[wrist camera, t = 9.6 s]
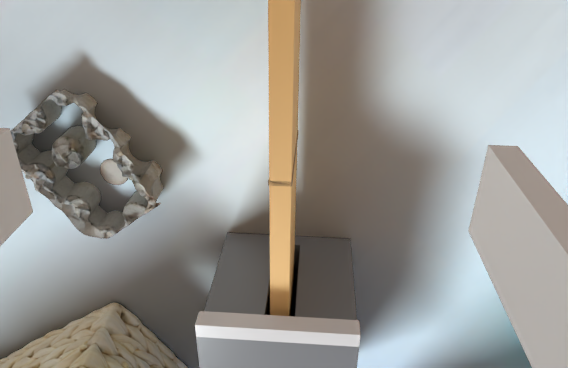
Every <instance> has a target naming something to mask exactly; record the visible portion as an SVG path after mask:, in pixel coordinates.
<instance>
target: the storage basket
mask: <svg viewBox="0 0 568 368" xmlns="http://www.w3.org/2000/svg"><path fill="white" fill-rule="evenodd" d="M0 368H187V366H186V365H185V364H184V363H183V362H181V361H180V360H179V359H178V358H177V357H176V356H175V355H174V353H173V352H172V351H171V350H170V349H169V348H168V347H167V346H166V345H164V344H163V343H162V342H161V341H160V340H158V338H157V337H156V336H155V335H154V333H152V332H151V331H150V330H149V329H148V328H147V327H145V326H144V325H143V324H142V323H141V321H140V320H139V319H138V318H137V317H136V316H135V315H134V314H133V313H132V312H130V311H129V310H127V309H126V308H124V307H123V306H122V305H120V304H119V303H110V304H108V305H106V306H104V307H102V308H100V309H98V310H95V311H93V312H91V313H90V314H88V315H86V316H85V317H83V318H81V319H77V320H74V321H72V322H70V323H69V324H68V325H66V326H65V327H64V328H62V329H58V330H53V331H51V332H49V333H47V334H46V335H45V336H43V337H42V338H39V339H36V340H34V341H32V342H30V343H29V344H27V345H26V346H25V347H23V348H22V349H20V350H17V351H15V352H13V353H12V354H10V355H9V356H8V357H7V358H3V359H0Z"/></svg>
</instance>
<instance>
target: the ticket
mask: <svg viewBox="0 0 568 368" xmlns="http://www.w3.org/2000/svg"><path fill="white" fill-rule="evenodd" d="M300 10H301V0H268V31H269V180H268V185H269V201H270V315H277V316H291V305H292V293H293V281H294V251H295V211H296V171H297V140H298V91H299V51H300Z"/></svg>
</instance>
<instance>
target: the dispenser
mask: <svg viewBox="0 0 568 368" xmlns="http://www.w3.org/2000/svg"><path fill="white" fill-rule="evenodd" d="M195 331H196V340H197V350H198V359H199V368H357V360H358V352H359V344H360V323H359V320H357V315H356V302H355V290H354V277H353V265H352V253H351V240H350V239H345V238H324V237H304V236H295V251H294V281H293V293H292V305H291V316H277V315H270V235H264V234H243V233H227V236H226V239H225V242H224V246H223V249H222V252H221V256H220V259H219V262H218V266H217V269H216V272H215V276H214V279H213V282H212V286H211V289H210V292H209V296H208V299H207V302H206V306H205V309H204V311H199V313H198V316H197V320H196V323H195Z"/></svg>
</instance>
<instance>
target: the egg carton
mask: <svg viewBox="0 0 568 368" xmlns="http://www.w3.org/2000/svg"><path fill="white" fill-rule="evenodd" d="M71 103H75V104H76V105H77V106H79V107H80V108H81V109H82V111H83V113H82V126H83V127H82V126H74V127H71V128H69V129H68V130H67V131H66V132H65V133H64V134H63V135H61V136H60V137H59V138H58V139H57V140H56V141H55V142H54V143H53V144H52V151H51V150H49V151H44V152H40V151H39V150H38V149H36V148H35V147H34V146H33V145H32V141H33V138H34V133H42V132H43V131H44V129H46V128H47V127H48V126H49V125H51V124H52V123H53V122H54V121H56V120H57V119H58V118H59V117H60V115H61V105H62V106H67V105H69V104H71ZM96 105H97V102H96V101H95V100H94V98H93V97H92V96H90V95H89V94H88V93H84V94H81V95H76V94H72V93H70V92H68V91H67V90H65V89H63V90H62V91H61V92H60V91H59V90H56V91H55V92H54V93H53V94H52V95H49V96H48V97H47V98H46V99H45V100H44V101H43V102H42V103H41V104H40V105H39V106H38V107H37V108H36V109H35V110H34V111H32V112H31V113H30V114H29V115H28V116H27V117H26V118H25V119H24V120H22V121H21V122H20V123H19V124H18V125H17V126H16V127H15V128H14V129H13V130H12V131H10V132H11V135H12V139H13V143H14V146H15V150H16V153H17V157H18V160H19V164H20V167H21V170H22V171H23V172H24V173H25V175H26V178H27V179H31V180H32V181H33V182H34V186H35V190H36V191H38V192H40V193H41V194H43V195H44V196H46V197H47V198H48V199H49V200H50V201H51V202H52V203H53V204H54V205H55V206H56V207H57V208H59V209H60V210H62V211H63V212H64V213H65V215H66V216H67V217H68V218H69V219H70V221H71V222H72V223H73V224H74V226H75V227H76V228H77V229H78V230H79V231H80V232H82V233H83V234H85V235H88V236H92V237H98V238H110V237H112V236H113V235H115V234H116V233H118V232H119V231H120V230H122V229H123V228H125V227H126V226H128V225H130V224H131V223H132V222H134V221H135V220H136V219H138V218H139V217H141V216H142V215H144V214H146V213H148V212H149V211H151V210H152V209H154V208H155V207H157V206H158V205H160V204H161V203H156V200H157V198H158V197H159V195H160V193H161V192H162V190H163V189H164V187H163V185H162V183H161V181H160V174H161V172H162V168H161V167H160V166H159V165H158V164H157V163H156V162H155V161H154V160H153V161H149V162H143V161H140V160H138V159H136V158H135V157H133V155H132V154H131V153H130V150H129V141H130V139H131V136H130V135H128V134H127V133H126V132H124V131H123V130H122V129H121V128H118V129H108V128H106V127H104V126H102V125H101V124H100V123H99V122H98V120H97V119H96V117H95V107H96ZM97 139H99V140H109V139H111V140H112V142H113V143H114V147H115V148H114V152H113V159H107V160H105V161H103V163H102V164H101V167H100V173H101V175H102V176H103V178H104V180H105V181H107V182H108V183H110V184H113V185H121V184H123V183H125V182H126V181H127V180H128V178H129V179H130V180H132V182H133V184H134V186H135V189H136V190H137V191H136V192H135V193H134V194H133V195H132V197H131V198H130V200H129V201H128V202H127V204H126V205H125V207H124V209H123V212H120V211H111V212H108V213H107V212H105V211H104V210H103V209H102V208H101V207H100V206H99V205H98V204H99V203H100V201H101V193H100V191H99V190H98V188H97V187H96V186H94V185H93V184H91V183H88V182H79V183H74V182H72V181H71V180H70V179H69V178H68V177H67V176H66V173H67V171H68V168H69V169H74V168H77V167H78V166H80V165H81V164H82V162H83V161H84V160H85V159H86V158H87V157H88V156H89V155H90V154H91V153H92V151H93V150H94V149H95V147H96V140H97Z"/></svg>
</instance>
